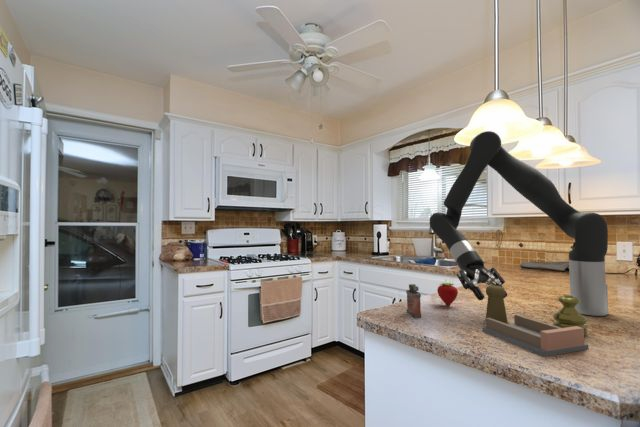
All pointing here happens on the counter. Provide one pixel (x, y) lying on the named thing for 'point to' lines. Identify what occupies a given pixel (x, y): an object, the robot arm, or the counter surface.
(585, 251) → the robot arm
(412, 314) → the lighter
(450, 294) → the strawberry
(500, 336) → the guide track
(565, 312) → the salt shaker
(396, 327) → the counter surface
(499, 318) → the cork
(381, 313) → the counter surface
